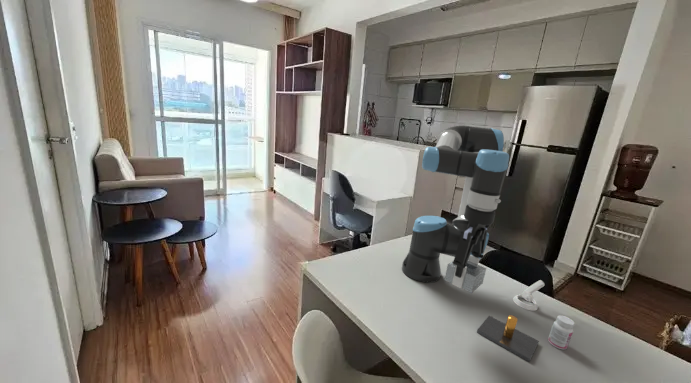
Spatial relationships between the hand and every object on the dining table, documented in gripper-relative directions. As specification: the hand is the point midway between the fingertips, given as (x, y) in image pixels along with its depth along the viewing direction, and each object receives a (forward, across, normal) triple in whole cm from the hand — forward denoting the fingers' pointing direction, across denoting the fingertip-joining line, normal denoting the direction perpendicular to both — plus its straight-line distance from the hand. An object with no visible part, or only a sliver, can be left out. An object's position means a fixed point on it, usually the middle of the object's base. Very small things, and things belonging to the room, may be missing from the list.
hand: (463, 280), depth 86 cm
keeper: (+15, +8, -13) cm, 22 cm away
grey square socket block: (0, 0, 0) cm, 0 cm away
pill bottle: (+15, +18, -24) cm, 34 cm away
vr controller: (+16, +33, -12) cm, 38 cm away
